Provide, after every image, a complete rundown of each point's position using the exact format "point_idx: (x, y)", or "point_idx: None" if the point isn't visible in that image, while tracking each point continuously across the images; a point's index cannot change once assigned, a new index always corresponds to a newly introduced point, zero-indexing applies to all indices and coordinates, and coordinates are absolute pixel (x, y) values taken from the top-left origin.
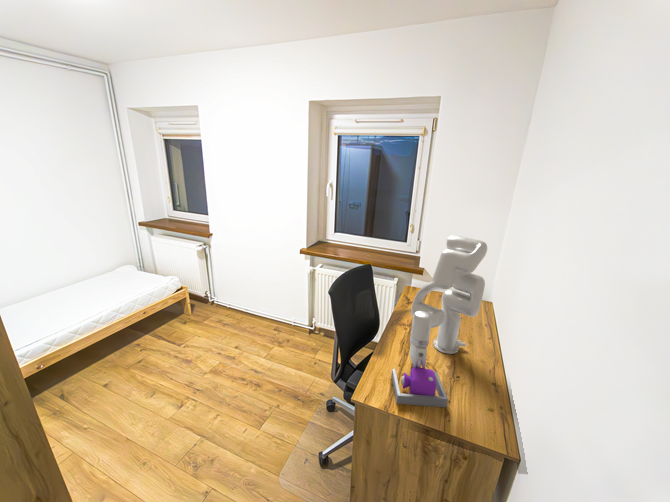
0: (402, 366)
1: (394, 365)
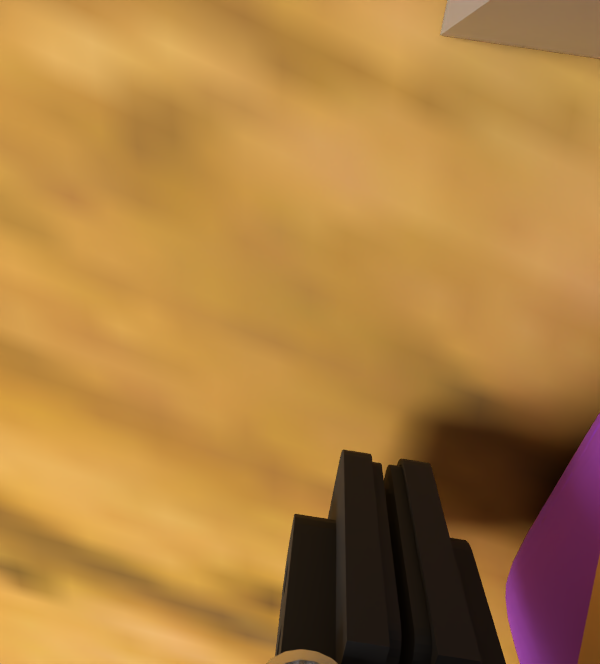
0: (42, 536)
1: (38, 636)
